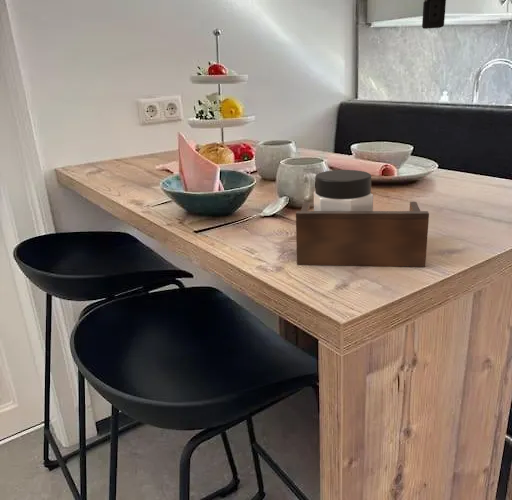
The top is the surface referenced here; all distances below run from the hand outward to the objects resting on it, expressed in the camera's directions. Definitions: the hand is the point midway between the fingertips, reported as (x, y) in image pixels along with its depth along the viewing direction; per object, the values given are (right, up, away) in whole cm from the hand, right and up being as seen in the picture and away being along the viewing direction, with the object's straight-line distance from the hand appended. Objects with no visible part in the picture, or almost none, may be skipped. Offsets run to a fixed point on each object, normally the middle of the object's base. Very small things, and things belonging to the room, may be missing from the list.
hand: (432, 27), depth 82 cm
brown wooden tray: (-13, -36, -4) cm, 39 cm away
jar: (-16, -37, -4) cm, 40 cm away
